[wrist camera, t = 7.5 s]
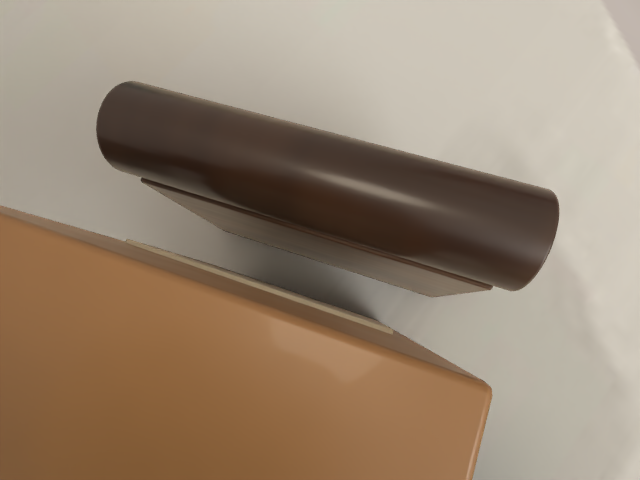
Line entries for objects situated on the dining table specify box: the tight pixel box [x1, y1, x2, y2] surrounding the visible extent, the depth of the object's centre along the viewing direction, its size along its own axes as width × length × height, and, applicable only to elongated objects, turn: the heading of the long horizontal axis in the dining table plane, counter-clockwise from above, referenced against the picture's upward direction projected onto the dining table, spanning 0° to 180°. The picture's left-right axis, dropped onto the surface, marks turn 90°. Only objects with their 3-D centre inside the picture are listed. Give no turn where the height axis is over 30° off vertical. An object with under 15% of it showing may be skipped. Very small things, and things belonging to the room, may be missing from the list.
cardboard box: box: [0, 206, 492, 480], centre depth 9 cm, size 4×6×12 cm, turn 71°
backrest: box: [96, 81, 559, 297], centre depth 12 cm, size 2×10×9 cm, turn 72°
